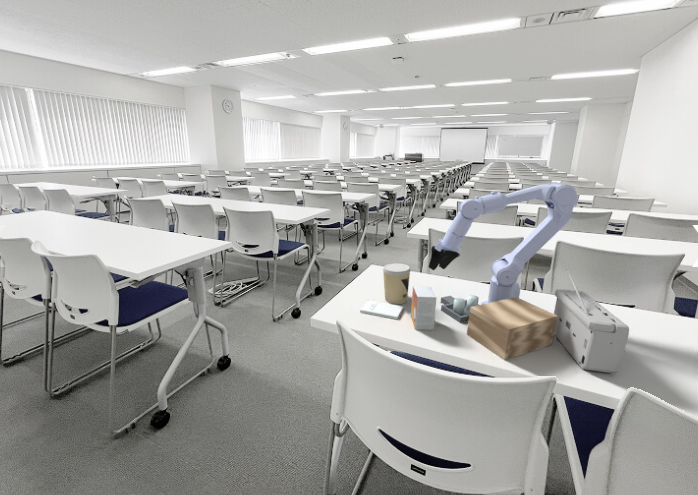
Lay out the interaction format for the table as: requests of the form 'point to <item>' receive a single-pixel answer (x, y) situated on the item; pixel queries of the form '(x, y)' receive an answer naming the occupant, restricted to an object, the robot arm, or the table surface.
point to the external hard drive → (382, 309)
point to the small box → (423, 307)
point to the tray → (450, 309)
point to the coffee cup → (396, 282)
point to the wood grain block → (511, 327)
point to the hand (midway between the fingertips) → (436, 268)
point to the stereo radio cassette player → (589, 331)
